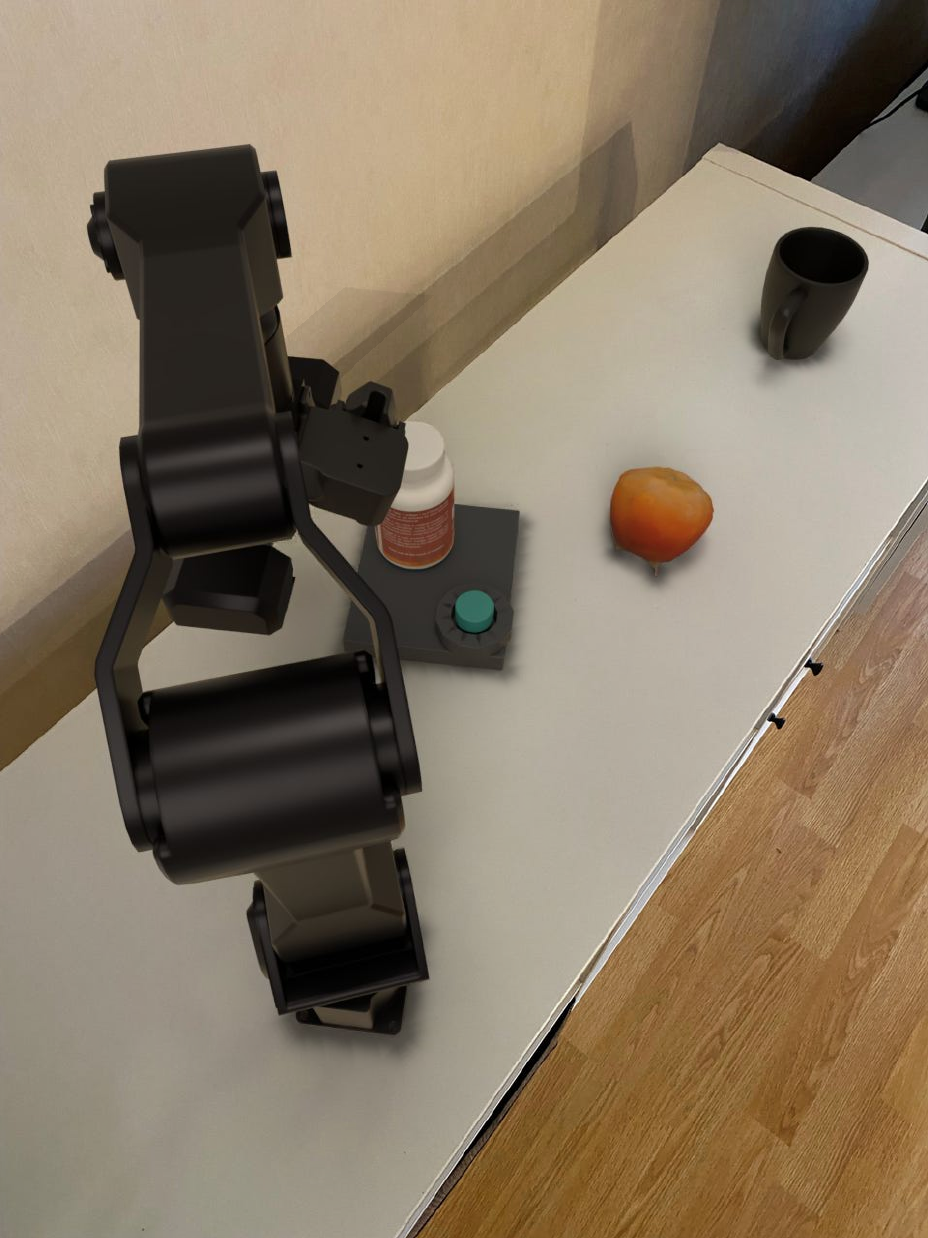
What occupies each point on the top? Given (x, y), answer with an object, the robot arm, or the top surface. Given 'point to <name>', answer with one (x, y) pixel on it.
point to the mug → (809, 289)
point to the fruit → (658, 513)
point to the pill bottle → (421, 504)
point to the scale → (444, 593)
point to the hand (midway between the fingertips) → (280, 568)
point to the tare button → (474, 611)
